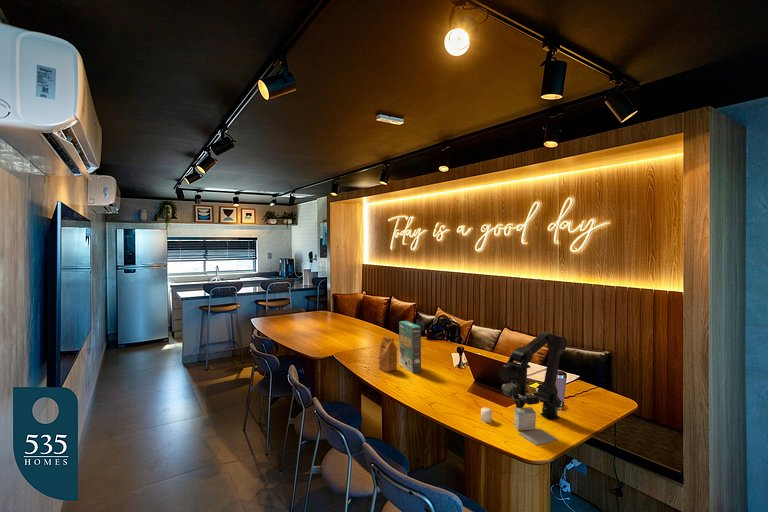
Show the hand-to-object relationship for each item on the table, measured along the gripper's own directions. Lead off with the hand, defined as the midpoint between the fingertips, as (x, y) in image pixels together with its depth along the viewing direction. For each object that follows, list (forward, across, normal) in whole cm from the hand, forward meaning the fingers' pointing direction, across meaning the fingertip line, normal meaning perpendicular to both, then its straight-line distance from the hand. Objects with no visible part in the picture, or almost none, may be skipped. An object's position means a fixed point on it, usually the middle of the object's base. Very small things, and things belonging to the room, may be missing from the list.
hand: (519, 411), depth 167 cm
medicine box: (+6, +3, +1) cm, 7 cm away
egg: (+7, -10, -10) cm, 16 cm away
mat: (+6, +11, +1) cm, 13 cm away
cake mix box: (+8, -93, -13) cm, 94 cm away
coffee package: (+8, -96, -28) cm, 100 cm away
